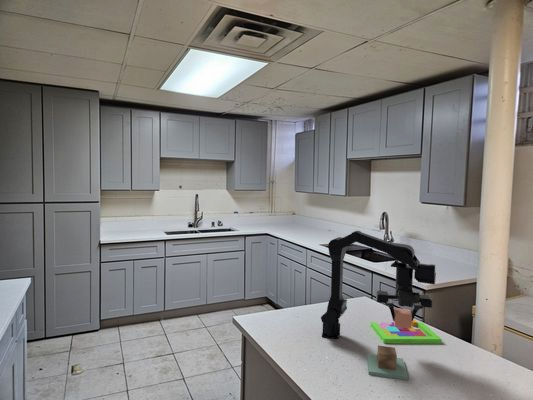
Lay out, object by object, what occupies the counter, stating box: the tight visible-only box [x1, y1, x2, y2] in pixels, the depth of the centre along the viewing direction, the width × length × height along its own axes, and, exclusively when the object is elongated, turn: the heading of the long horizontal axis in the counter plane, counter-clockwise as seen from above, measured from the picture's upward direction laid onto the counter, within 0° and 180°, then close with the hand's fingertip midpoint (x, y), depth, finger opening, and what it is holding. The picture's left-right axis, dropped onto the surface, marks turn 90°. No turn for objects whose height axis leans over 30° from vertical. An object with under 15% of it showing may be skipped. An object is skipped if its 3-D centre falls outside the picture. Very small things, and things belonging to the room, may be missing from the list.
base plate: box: [366, 353, 409, 381], centre depth 121 cm, size 12×12×1 cm
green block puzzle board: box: [370, 318, 443, 344], centre depth 152 cm, size 23×2×25 cm
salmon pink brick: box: [392, 307, 413, 329], centre depth 131 cm, size 6×6×5 cm
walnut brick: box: [376, 345, 398, 370], centre depth 121 cm, size 6×6×5 cm
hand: (402, 321), depth 131 cm, fingers closed on salmon pink brick, 6 cm apart
